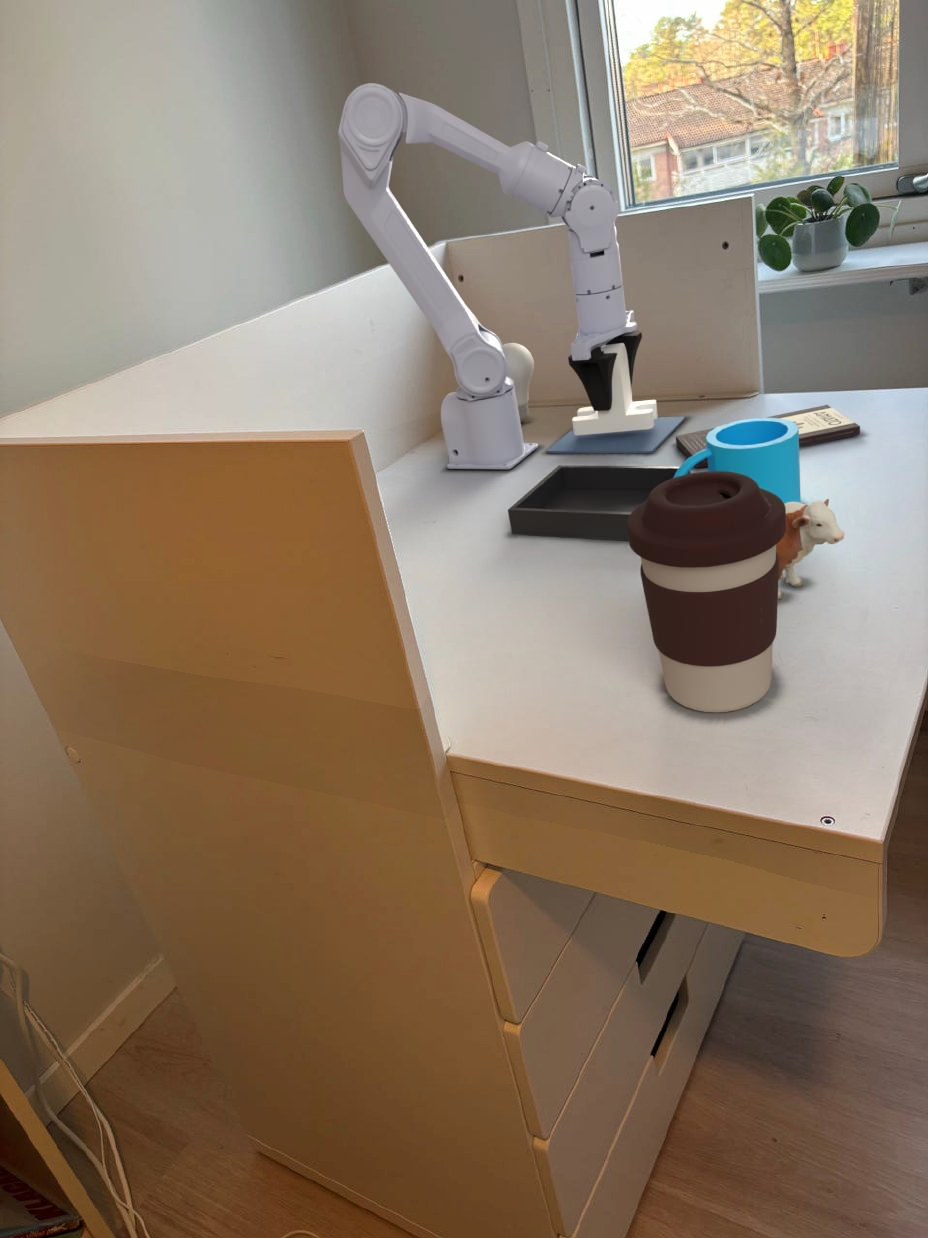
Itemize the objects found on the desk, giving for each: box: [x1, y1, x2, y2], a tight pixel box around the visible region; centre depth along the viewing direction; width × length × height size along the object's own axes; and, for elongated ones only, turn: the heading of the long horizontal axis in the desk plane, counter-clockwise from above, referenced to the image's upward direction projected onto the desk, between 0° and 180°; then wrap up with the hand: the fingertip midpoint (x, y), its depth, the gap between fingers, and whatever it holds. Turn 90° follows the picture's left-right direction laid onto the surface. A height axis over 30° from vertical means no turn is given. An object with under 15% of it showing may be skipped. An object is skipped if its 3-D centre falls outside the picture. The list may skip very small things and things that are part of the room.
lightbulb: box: [502, 342, 535, 423], centre depth 128 cm, size 6×6×11 cm
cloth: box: [545, 416, 687, 454], centre depth 117 cm, size 14×12×1 cm
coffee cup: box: [627, 470, 786, 713], centre depth 62 cm, size 10×10×15 cm
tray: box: [507, 464, 692, 542], centre depth 96 cm, size 15×12×3 cm
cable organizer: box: [571, 343, 659, 435], centre depth 114 cm, size 5×10×10 cm, turn 72°
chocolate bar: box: [675, 404, 861, 469], centre depth 106 cm, size 9×1×18 cm
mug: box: [673, 417, 802, 504], centre depth 87 cm, size 12×8×8 cm
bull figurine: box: [776, 498, 845, 601], centre depth 74 cm, size 4×13×8 cm, turn 63°
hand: (612, 401), depth 115 cm, fingers closed on cable organizer, 6 cm apart
